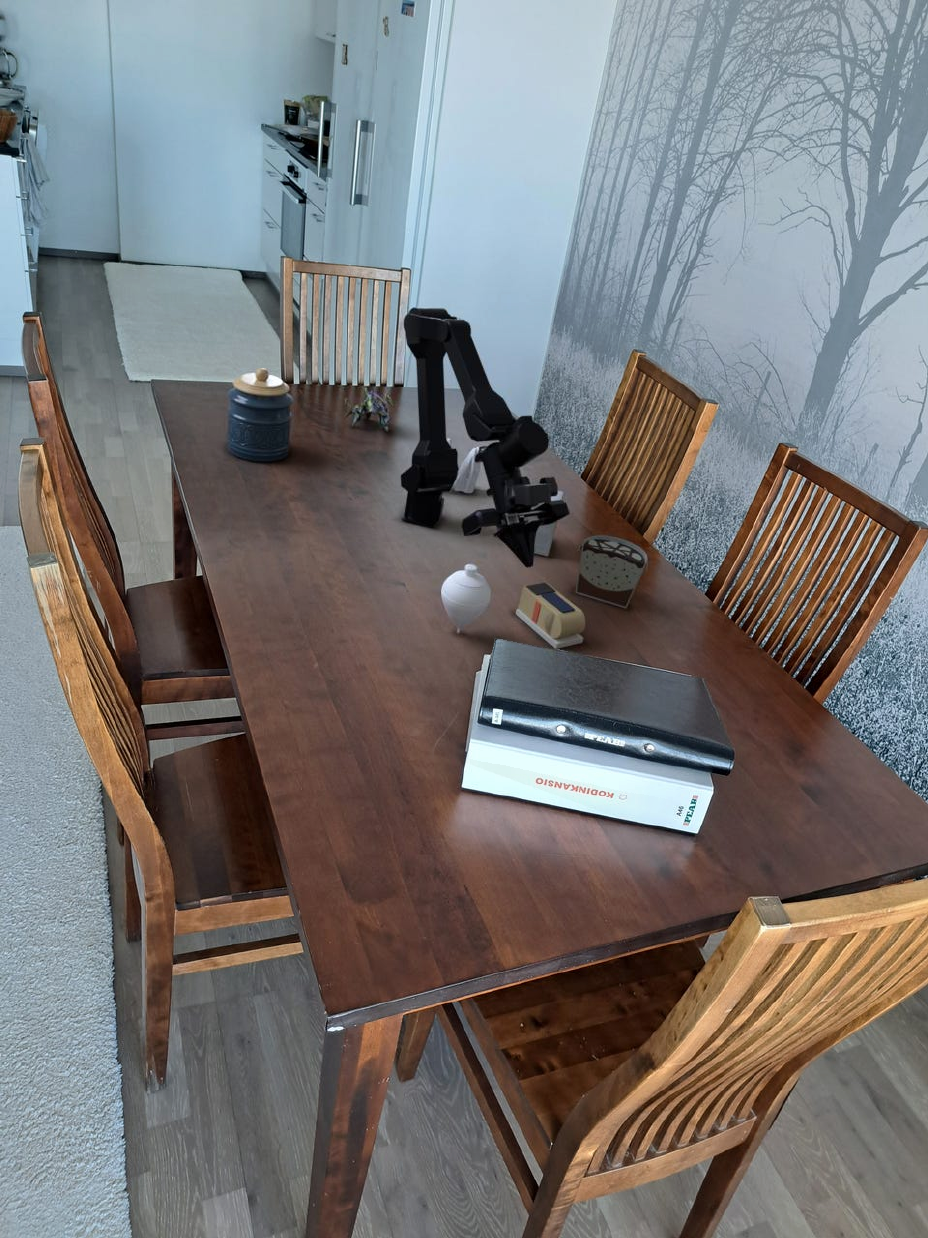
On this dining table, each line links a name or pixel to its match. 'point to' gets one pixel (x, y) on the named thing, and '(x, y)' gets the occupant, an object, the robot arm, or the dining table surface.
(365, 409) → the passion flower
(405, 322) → the robot arm
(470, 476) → the shaker set
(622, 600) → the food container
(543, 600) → the cream two-tone block
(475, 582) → the spinning top
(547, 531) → the small box
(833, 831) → the dining table surface
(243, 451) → the canister
